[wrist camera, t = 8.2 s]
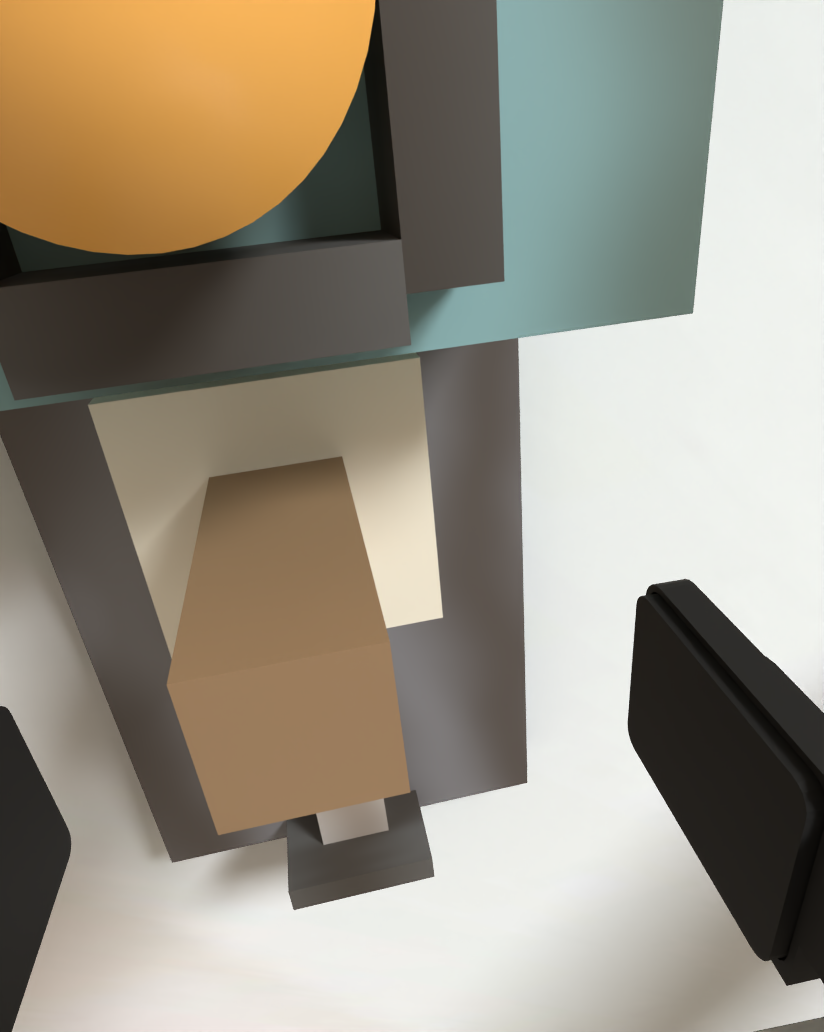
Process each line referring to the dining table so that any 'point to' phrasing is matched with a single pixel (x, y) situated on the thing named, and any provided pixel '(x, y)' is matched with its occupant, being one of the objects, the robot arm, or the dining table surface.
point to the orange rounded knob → (167, 113)
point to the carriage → (283, 572)
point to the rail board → (424, 654)
